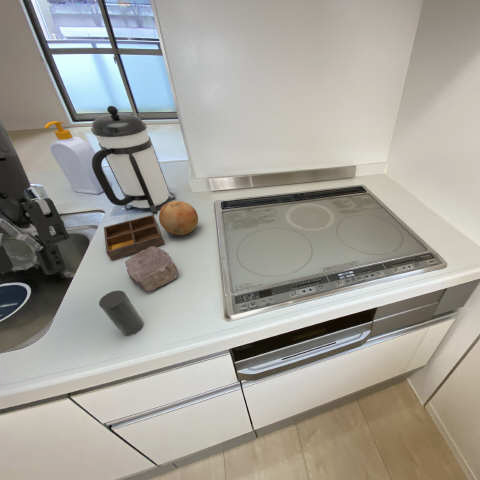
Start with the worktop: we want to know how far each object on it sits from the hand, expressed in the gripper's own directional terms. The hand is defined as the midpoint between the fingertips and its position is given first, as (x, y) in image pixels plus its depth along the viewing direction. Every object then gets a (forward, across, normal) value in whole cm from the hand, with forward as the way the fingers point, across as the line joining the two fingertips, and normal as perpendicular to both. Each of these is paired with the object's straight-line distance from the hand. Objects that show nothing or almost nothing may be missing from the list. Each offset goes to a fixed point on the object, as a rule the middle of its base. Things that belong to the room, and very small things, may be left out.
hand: (29, 271), depth 37 cm
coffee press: (+2, -19, +50) cm, 54 cm away
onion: (+7, -2, +39) cm, 40 cm away
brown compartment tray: (+8, -13, +34) cm, 37 cm away
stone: (+13, -1, +23) cm, 26 cm away
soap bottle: (-3, -44, +56) cm, 71 cm away
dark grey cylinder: (+18, +3, +10) cm, 20 cm away
